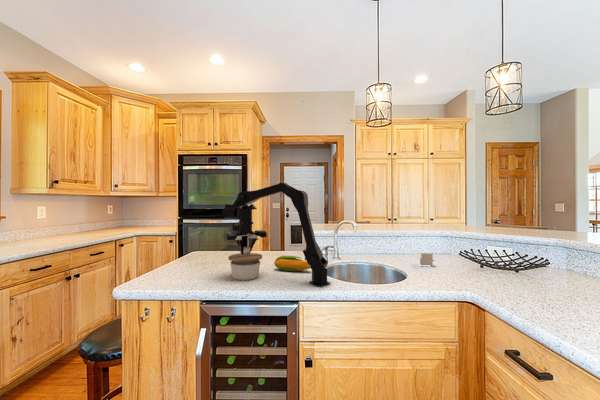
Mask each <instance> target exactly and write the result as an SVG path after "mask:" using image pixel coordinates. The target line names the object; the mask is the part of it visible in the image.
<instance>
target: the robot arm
mask: <svg viewBox="0 0 600 400" xmlns="http://www.w3.org/2000/svg"><path fill="white" fill-rule="evenodd" d="M281 193H283V194H284V195H286V196H287V198H289V199H290V200H291V203H292V205H293V207H294V209H295V210H296V211H297V213H298V216H299V217H298V218H299V222H300V225H301V230H302V233H303V237H304V242H305V249H303V251H302V252H303V255H304V261H307V263H308V264H309V265H310V266H311V268H310V269H311V280H309V282H308V283H309V284H311V285H314V286H315V287H321V286H327V285H330V284H331V282H329V281H328V269H327V267H328V264H329V262H328V260H327V259H326V258H325V257H324V254H323V251H322V249H321V248H320V246H319V244H318V243H317V241H316V236H315V232H314V229H313V225H312V220H311V217H310V213H309V196H308V193H307V192H306V191H304V190H302V189H301V190H300V189H297V188H295V187H293V186H291V185H289V184H288V183H287V182H279V183H275V184H274V185H270V186H267V187H263V188H259V189H256V190H246V191H240V192H238V194H237V198H236V199H235V201H234V202H233V203H232V204H230V203H229V204H225V205H224V208H223V210H222V217H223V219H225V220H238V222H237V224H236V223H235V224H231V225H230V231H228V232H224V234H223V240H225V241H234V242H235V243H236V244H237V246H238V248H239V252H240V253H241V254H242V255H243V247H244V239H243V238H247V239H248V240H247V241H248V245H247V247H250V253H252V250H253V247H254V245H255V244H256V242H257V241H259V238H261V239H262V238H268V235H267V233H268V232H267V231H266V230H263V229H259V230H258V229H256V230H254V231H253V225H254V221H253V210H257V207H256V206H255V205H254V203H255V202H257V201H259V200H261V199H262V198H267V197H270V196H274V195H277V194H281ZM286 196H285V197H286ZM258 237H259V238H258Z"/></svg>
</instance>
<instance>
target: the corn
mask: <svg viewBox="0 0 600 400" xmlns="http://www.w3.org/2000/svg"><path fill="white" fill-rule="evenodd" d="M273 264H274V266H275V267H276V268H277V269H279V270H281V271H284V272H285V271H286V272H293V273H294V272H297V273H298V272H299V271H304V270H305V271H306V270H310V269H311V266H310V265H309V264H308V263H307V260H306V261H305V259H302V257H300V256H297V255H296V256H295V255H280V256H279V257H277V258H275V260H274V263H273Z"/></svg>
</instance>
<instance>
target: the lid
mask: <svg viewBox="0 0 600 400" xmlns="http://www.w3.org/2000/svg"><path fill="white" fill-rule="evenodd" d="M227 259H228V260H229V261H230V262H231V261H235V262H250V261H256V260H259V261H261V259H263V254H260V253H256V252H250V247H248V246H243V255H242V254H241V252H240V253H235V254H231V255H228V258H227Z"/></svg>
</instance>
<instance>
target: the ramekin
mask: <svg viewBox="0 0 600 400" xmlns="http://www.w3.org/2000/svg"><path fill="white" fill-rule="evenodd" d="M260 266H261V260H256V261H250V262H235V261H230V270H231V276H232V278H233V279H234V280H235V281H236V280H237V281H250V280H253V279H254V280H255V279H256V278H258V276H259V273H260Z"/></svg>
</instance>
